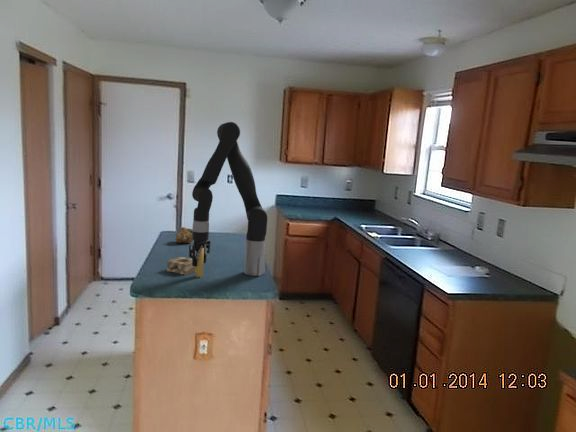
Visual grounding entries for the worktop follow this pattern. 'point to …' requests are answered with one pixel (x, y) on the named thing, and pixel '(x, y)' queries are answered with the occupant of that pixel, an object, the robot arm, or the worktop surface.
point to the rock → (184, 235)
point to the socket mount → (180, 265)
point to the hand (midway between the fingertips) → (199, 264)
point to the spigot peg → (199, 264)
